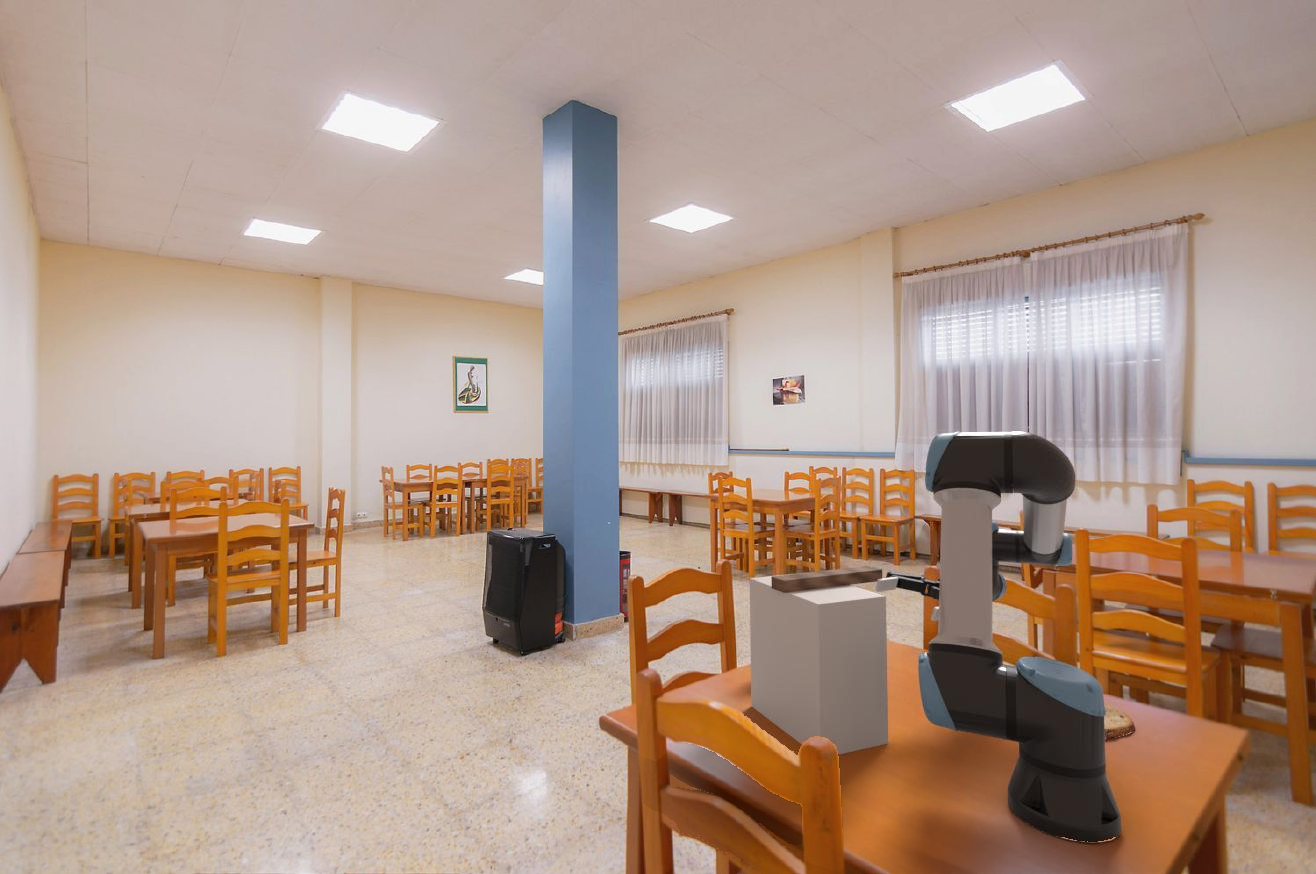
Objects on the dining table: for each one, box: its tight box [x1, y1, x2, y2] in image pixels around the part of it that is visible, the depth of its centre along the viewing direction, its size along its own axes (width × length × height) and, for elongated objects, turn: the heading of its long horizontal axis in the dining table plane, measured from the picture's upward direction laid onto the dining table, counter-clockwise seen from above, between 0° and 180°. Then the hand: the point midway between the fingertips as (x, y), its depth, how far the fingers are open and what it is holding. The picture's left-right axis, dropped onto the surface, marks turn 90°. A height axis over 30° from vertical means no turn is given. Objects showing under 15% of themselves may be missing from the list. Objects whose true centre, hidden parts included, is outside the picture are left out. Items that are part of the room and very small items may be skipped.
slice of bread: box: [1104, 705, 1136, 739], centre depth 132 cm, size 18×18×4 cm
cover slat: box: [771, 565, 883, 593], centre depth 136 cm, size 26×5×2 cm, turn 114°
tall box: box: [749, 572, 889, 756], centre depth 134 cm, size 16×26×29 cm, turn 21°
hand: (904, 599), depth 132 cm, fingers open, 13 cm apart
